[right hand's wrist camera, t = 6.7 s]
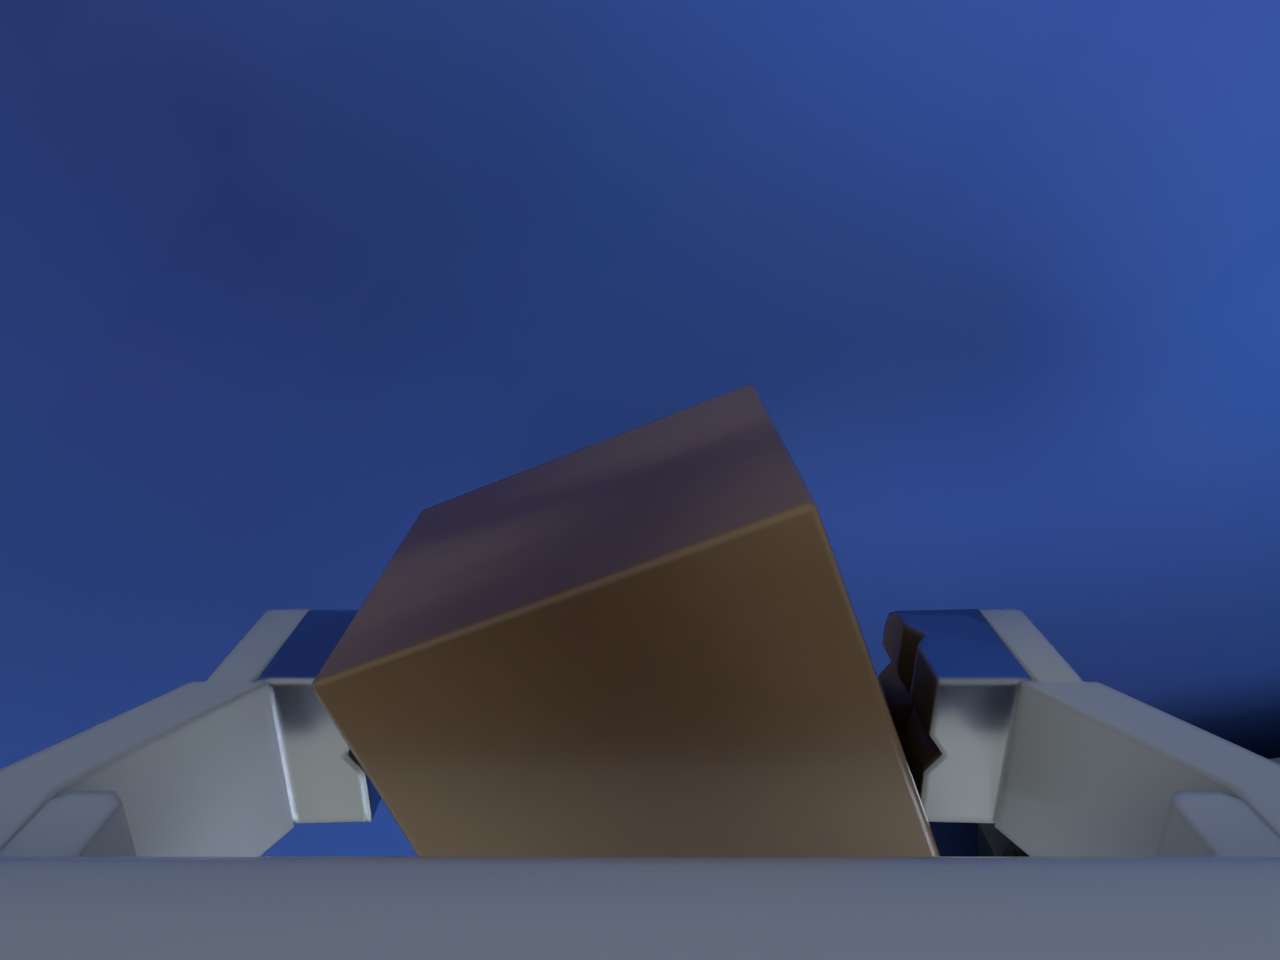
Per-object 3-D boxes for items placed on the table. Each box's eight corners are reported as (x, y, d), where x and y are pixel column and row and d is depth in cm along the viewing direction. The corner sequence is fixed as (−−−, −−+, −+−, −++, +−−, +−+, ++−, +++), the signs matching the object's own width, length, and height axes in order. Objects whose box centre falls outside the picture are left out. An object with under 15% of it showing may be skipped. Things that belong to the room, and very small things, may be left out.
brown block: (546, 745, 13) (504, 999, 9) (420, 509, 12) (304, 687, 8) (848, 645, 12) (945, 870, 8) (752, 380, 11) (815, 501, 7)
